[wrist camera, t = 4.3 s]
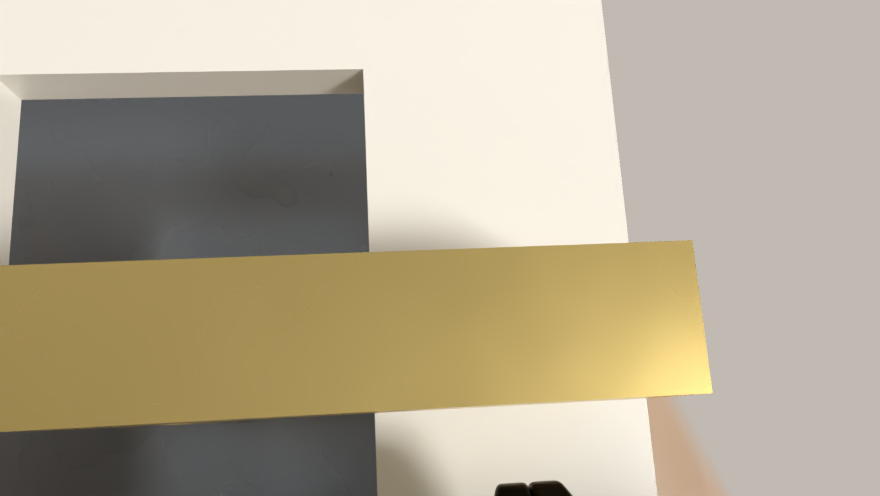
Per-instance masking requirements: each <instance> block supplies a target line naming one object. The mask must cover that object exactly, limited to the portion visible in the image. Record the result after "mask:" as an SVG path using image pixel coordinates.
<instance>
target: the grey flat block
mask: <svg viewBox="0 0 880 496" xmlns="http://www.w3.org/2000/svg"><path fill="white" fill-rule="evenodd" d="M358 252H369V228H368V198H367V168H366V138H365V108H364V94H311V95H257V96H203V97H149V98H95V99H41V100H21V112H20V125H19V138H18V151H17V164H16V177H15V190H14V203H13V215H12V228H11V241H10V254H9V265H29V264H56V263H84V262H111V261H139V260H166V259H194V258H221V257H249V256H276V255H303V254H331V253H358ZM0 496H377V468H376V438H375V413H370V414H352V415H333V416H315V417H297V418H278V419H260V420H246V421H242V422H237V423H211V424H180V425H150V426H132V427H114V428H95V429H76V430H49V431H22V432H0Z"/></svg>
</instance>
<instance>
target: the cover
mask: <svg viewBox="0 0 880 496" xmlns="http://www.w3.org/2000/svg"><path fill="white" fill-rule="evenodd" d="M311 94H364V108H365V138H366V168H367V198H368V228H369V252H386V251H413V250H441V249H468V248H496V247H523V246H551V245H578V244H605V243H629V242H628V233H627V224H626V215H625V207H624V198H623V189H622V180H621V171H620V162H619V155H618V145H617V136H616V127H615V118H614V110H613V101H612V93H611V83H610V75H609V66H608V57H607V48H606V39H605V30H604V21H603V14H602V4H601V0H0V266H1V265H9V254H10V241H11V228H12V215H13V203H14V190H15V177H16V164H17V151H18V138H19V125H20V112H21V100H41V99H95V98H149V97H203V96H257V95H311ZM375 438H376V468H377V496H494V494H495V489H496V487H497V485H499V484H503V483H519V482H523V483H526V484H527V485H528V486H529V484H530V483H531V482H534V481H550V480H556V481H559V482H561V483H562V484H563V485H564V486H565V487H566V488H567V489H568V491H569V492H570V493H571V494H572V496H657V489H656V480H655V471H654V462H653V453H652V444H651V436H650V427H649V418H648V409H647V400H646V398H642V399H626V400H608V401H590V402H571V403H553V404H535V405H516V406H498V407H480V408H461V409H443V410H425V411H406V412H388V413H375Z"/></svg>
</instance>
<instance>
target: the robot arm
mask: <svg viewBox="0 0 880 496" xmlns="http://www.w3.org/2000/svg"><path fill="white" fill-rule="evenodd" d="M494 496H572V494H571V493H570V492H569V491H568V489H567V488H566V487H565V486H564V485H563V484H562V483H561V482H559V481H556V480H550V481H534V482H531V483H530V484H529V486H528V485H527V484H526V483H523V482H519V483H503V484H499V485H497V487H496V489H495V494H494Z"/></svg>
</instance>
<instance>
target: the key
mask: <svg viewBox="0 0 880 496" xmlns="http://www.w3.org/2000/svg"><path fill="white" fill-rule="evenodd" d="M708 393H712V385H711V378H710V370H709V363H708V355H707V347H706V341H705V333H704V325H703V317H702V310H701V303H700V295H699V287H698V280H697V273H696V265H695V257H694V251H693V242H692V240H688V241H660V242H634V243H605V244H578V245H551V246H523V247H496V248H468V249H441V250H413V251H386V252H358V253H331V254H303V255H276V256H249V257H221V258H194V259H166V260H139V261H111V262H84V263H56V264H29V265H1V266H0V432H22V431H49V430H76V429H95V428H114V427H132V426H150V425H180V424H211V423H237V422H242V421H246V420H260V419H278V418H297V417H315V416H333V415H352V414H370V413H388V412H406V411H425V410H443V409H461V408H480V407H498V406H516V405H535V404H553V403H571V402H590V401H608V400H626V399H642V398H656V397H669V396H682V395H695V394H708Z"/></svg>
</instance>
